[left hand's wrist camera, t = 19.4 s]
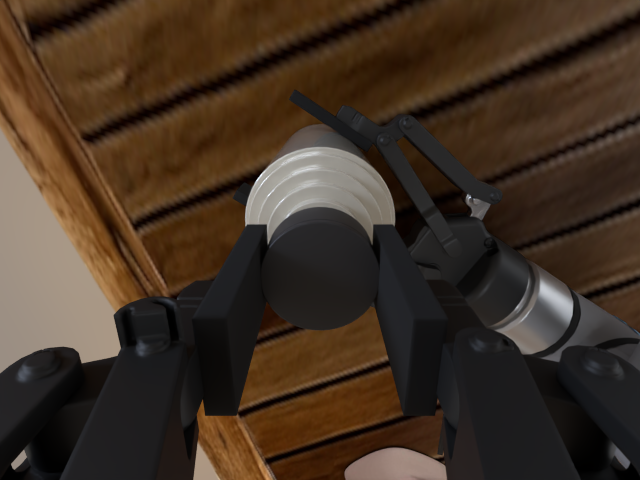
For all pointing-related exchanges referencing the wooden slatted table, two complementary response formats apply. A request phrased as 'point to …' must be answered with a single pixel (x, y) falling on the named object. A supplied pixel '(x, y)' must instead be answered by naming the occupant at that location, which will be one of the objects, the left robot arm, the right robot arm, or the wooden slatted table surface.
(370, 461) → the anatomical model
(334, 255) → the cap
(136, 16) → the wooden slatted table surface
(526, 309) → the right robot arm
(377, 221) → the bottle
